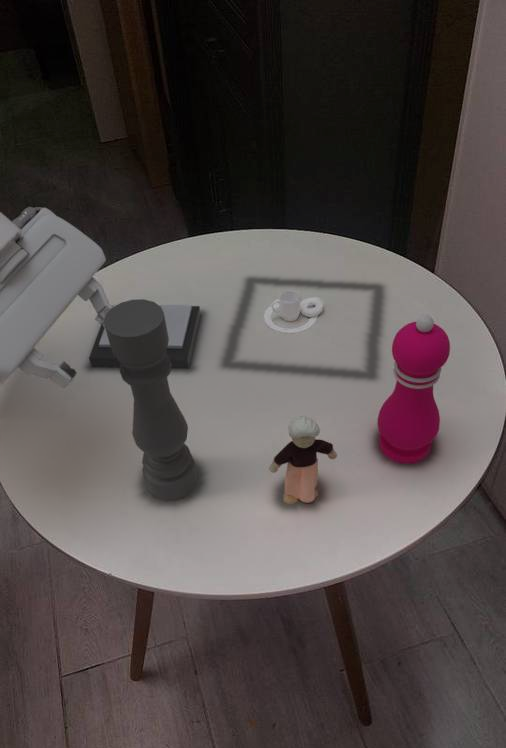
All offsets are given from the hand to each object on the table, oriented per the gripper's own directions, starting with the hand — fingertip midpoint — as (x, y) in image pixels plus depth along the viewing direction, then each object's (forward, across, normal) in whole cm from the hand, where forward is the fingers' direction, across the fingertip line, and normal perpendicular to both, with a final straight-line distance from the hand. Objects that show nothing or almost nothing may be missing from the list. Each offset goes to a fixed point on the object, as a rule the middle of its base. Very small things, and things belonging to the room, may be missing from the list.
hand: (93, 350), depth 69 cm
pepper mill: (+36, -14, +8) cm, 39 cm away
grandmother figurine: (+29, -3, +1) cm, 29 cm away
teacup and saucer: (+23, -33, -5) cm, 40 cm away
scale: (+8, -23, -20) cm, 32 cm away
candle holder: (+18, 0, -10) cm, 21 cm away
